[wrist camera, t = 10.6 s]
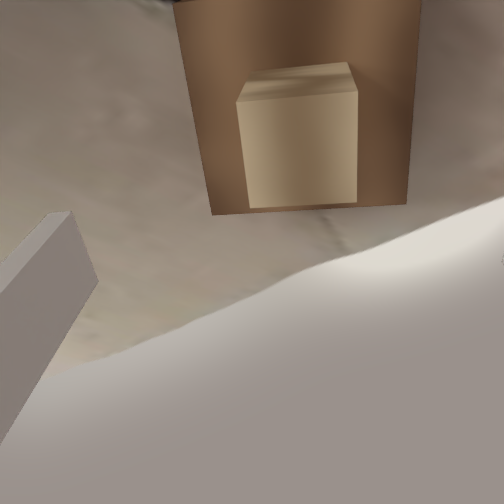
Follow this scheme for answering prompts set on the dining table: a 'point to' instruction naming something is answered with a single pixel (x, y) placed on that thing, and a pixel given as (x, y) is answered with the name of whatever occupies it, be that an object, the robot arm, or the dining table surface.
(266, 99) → the oak block
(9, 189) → the dining table surface
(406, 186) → the walnut pedestal
